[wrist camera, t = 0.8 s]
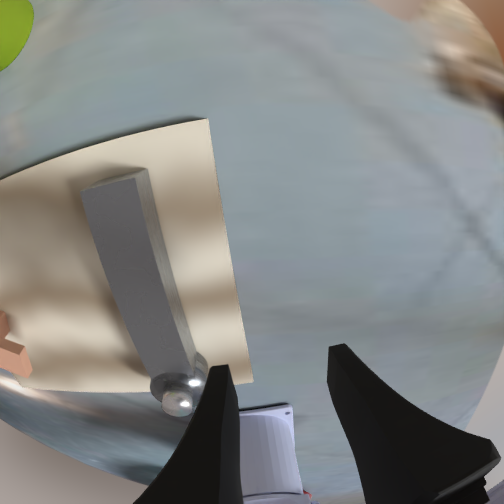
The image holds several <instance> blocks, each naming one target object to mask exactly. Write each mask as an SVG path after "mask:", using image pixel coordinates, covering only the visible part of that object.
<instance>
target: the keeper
mask: <svg viewBox="0 0 504 504" xmlns="http://www.w3.org/2000/svg"><path fill="white" fill-rule="evenodd" d="M9 332H10V328H9V325H8V321H7V318H6V314H5V312H4V311H1V310H0V368H3V369H5V370H7V371H10V372H12V373H15V374H17V375H20V376H22V377H25V378H28V377H29V376H30V374H31V372H32V370H33V369H32V366H31V363H30V360H29V357H28V354H27V351H26V348H25V346H24V345H21V344H18V343H15V342H13V341H10V340H7V339H5V337H6V336H7V334H8V333H9Z"/></svg>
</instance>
